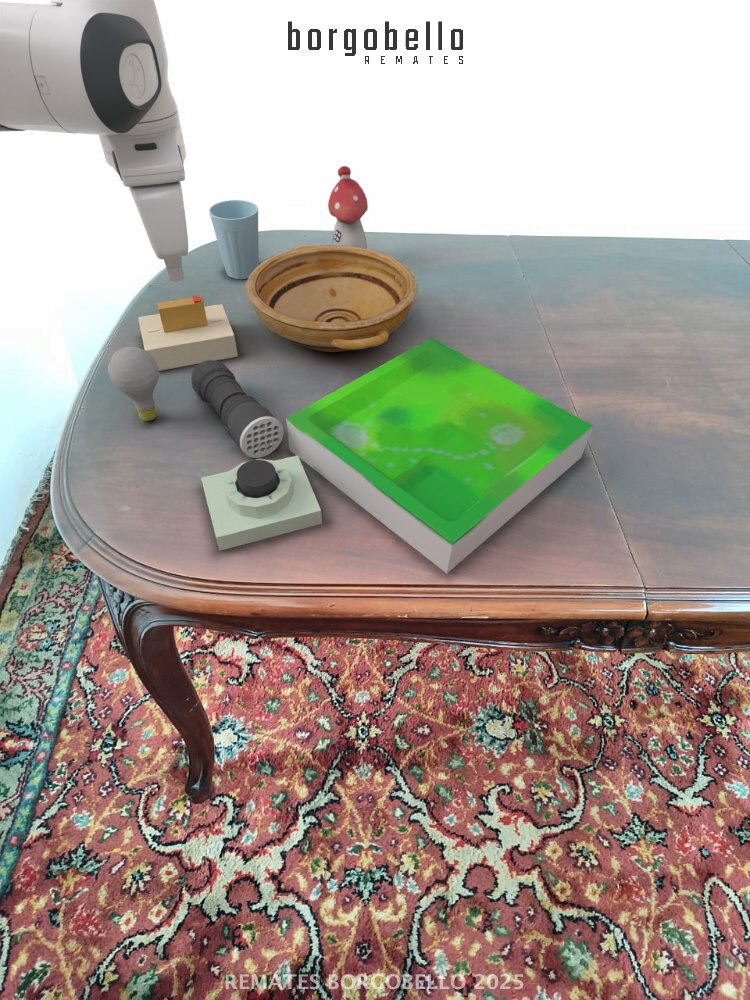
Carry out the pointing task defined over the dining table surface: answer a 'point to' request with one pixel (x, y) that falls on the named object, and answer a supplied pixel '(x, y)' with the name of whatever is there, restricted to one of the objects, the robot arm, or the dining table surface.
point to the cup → (237, 236)
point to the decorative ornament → (348, 211)
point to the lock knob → (182, 313)
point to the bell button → (257, 478)
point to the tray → (438, 448)
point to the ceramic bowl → (332, 296)
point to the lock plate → (189, 340)
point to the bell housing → (261, 505)
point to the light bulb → (136, 378)
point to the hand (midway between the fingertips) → (171, 261)
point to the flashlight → (237, 409)
